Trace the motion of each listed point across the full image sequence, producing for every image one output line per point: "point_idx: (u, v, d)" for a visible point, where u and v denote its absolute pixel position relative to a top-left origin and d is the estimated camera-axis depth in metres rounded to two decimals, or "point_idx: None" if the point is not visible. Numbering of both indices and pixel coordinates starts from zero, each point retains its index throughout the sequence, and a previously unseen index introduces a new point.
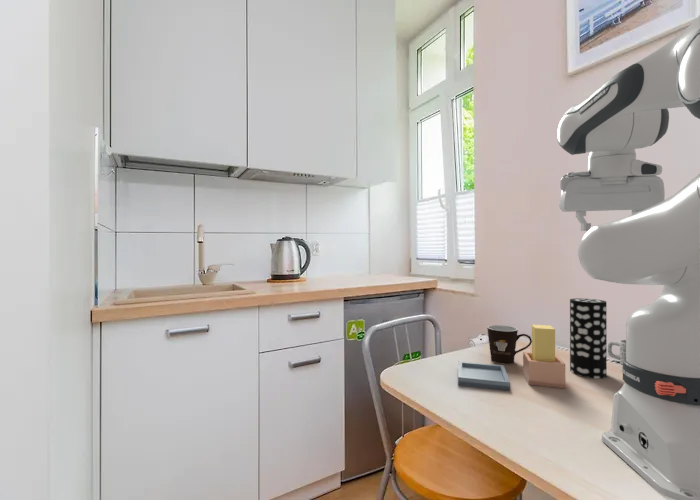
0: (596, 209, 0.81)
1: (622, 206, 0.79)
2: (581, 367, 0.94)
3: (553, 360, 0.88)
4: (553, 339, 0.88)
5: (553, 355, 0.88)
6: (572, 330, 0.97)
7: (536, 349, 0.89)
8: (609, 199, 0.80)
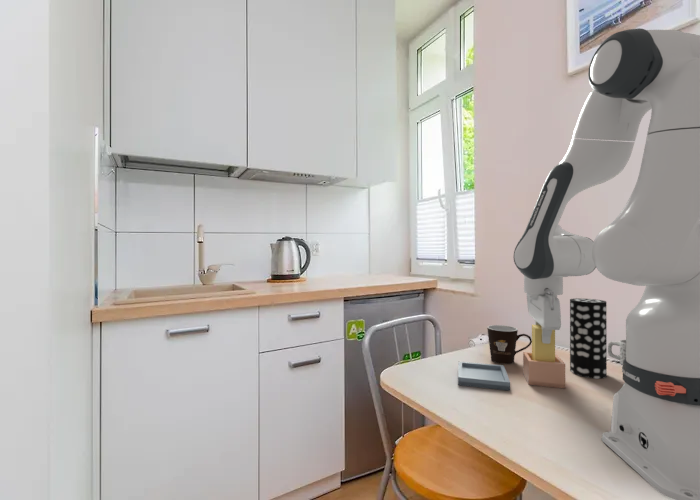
0: None
1: None
2: (581, 367, 0.94)
3: (553, 360, 0.88)
4: (553, 339, 0.88)
5: (553, 355, 0.88)
6: (572, 330, 0.97)
7: (536, 349, 0.89)
8: None
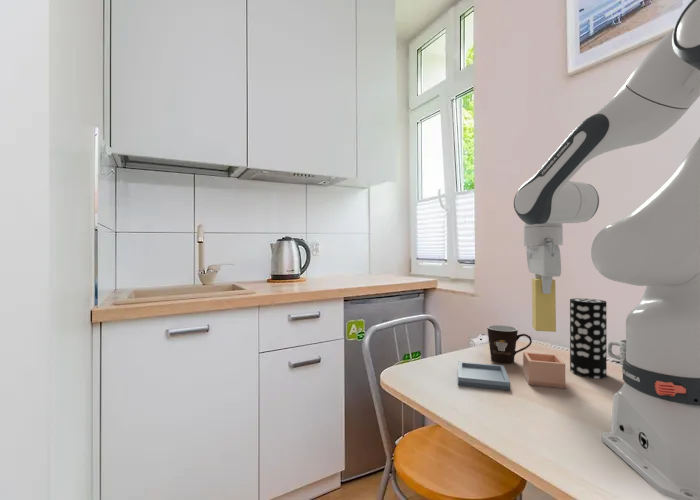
0: None
1: None
2: (581, 367, 0.94)
3: (554, 311, 0.88)
4: (553, 290, 0.88)
5: (553, 306, 0.88)
6: (572, 330, 0.97)
7: (536, 301, 0.89)
8: None
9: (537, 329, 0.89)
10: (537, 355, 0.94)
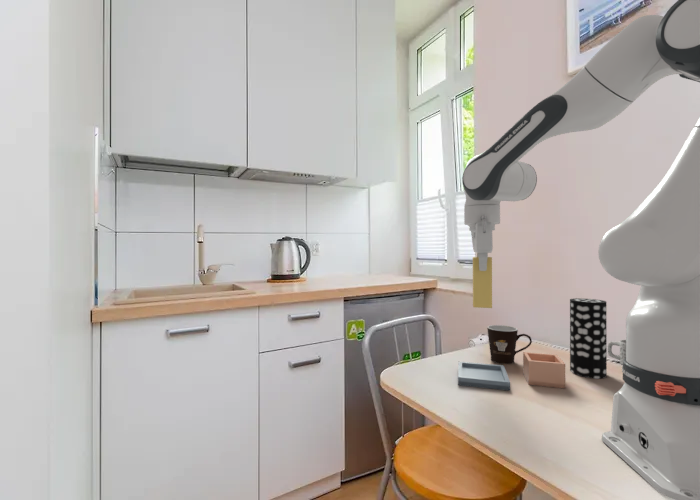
0: None
1: None
2: (581, 367, 0.94)
3: (490, 288, 0.90)
4: (490, 267, 0.90)
5: (490, 283, 0.90)
6: (572, 330, 0.97)
7: (474, 278, 0.91)
8: None
9: (474, 306, 0.91)
10: (537, 355, 0.94)
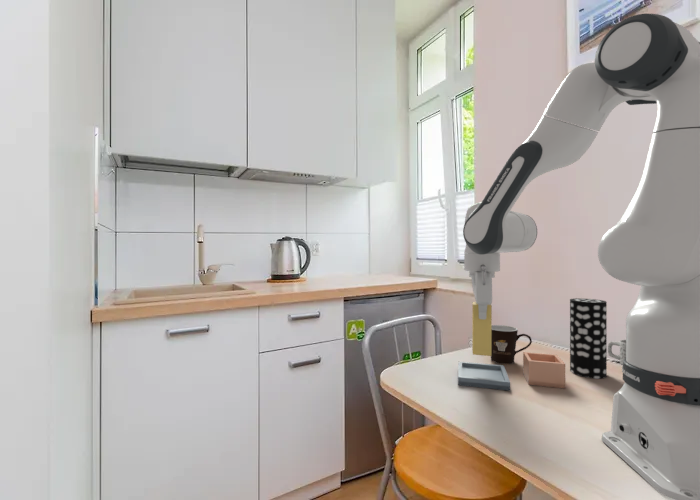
0: None
1: None
2: (581, 367, 0.94)
3: (489, 336, 0.90)
4: (490, 315, 0.90)
5: (489, 331, 0.90)
6: (572, 330, 0.97)
7: (474, 325, 0.91)
8: None
9: (474, 353, 0.91)
10: (537, 355, 0.94)
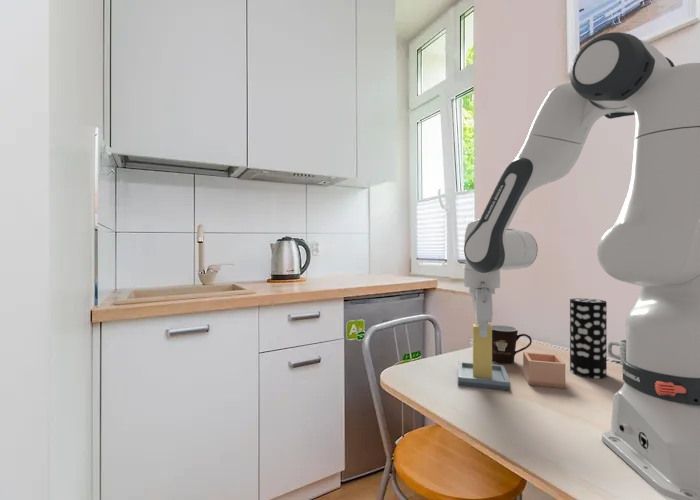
0: None
1: None
2: (581, 367, 0.94)
3: (490, 358, 0.90)
4: (490, 338, 0.90)
5: (490, 353, 0.90)
6: (572, 330, 0.97)
7: (474, 347, 0.91)
8: None
9: (474, 375, 0.91)
10: (537, 355, 0.94)
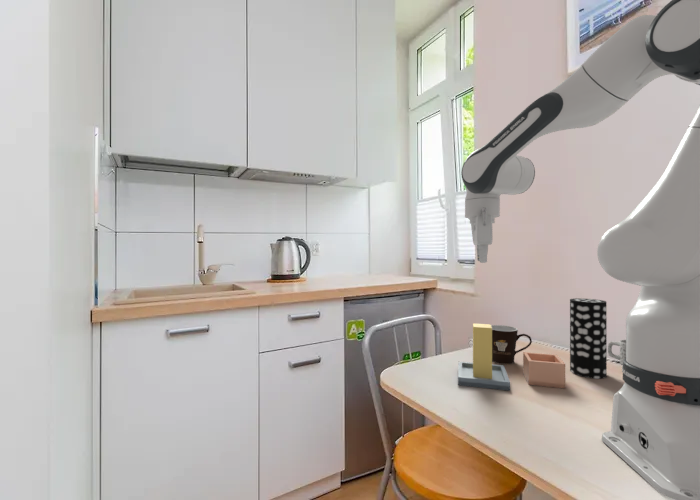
0: None
1: None
2: (581, 367, 0.94)
3: (490, 358, 0.90)
4: (490, 338, 0.90)
5: (490, 353, 0.90)
6: (572, 330, 0.97)
7: (474, 347, 0.91)
8: None
9: (474, 375, 0.91)
10: (537, 355, 0.94)
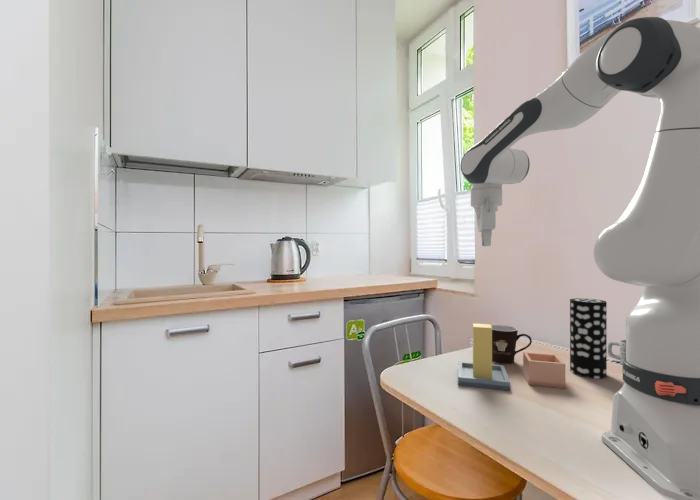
0: None
1: None
2: (581, 367, 0.94)
3: (490, 358, 0.90)
4: (490, 338, 0.90)
5: (490, 353, 0.90)
6: (572, 330, 0.97)
7: (474, 347, 0.91)
8: None
9: (474, 375, 0.91)
10: (537, 355, 0.94)
